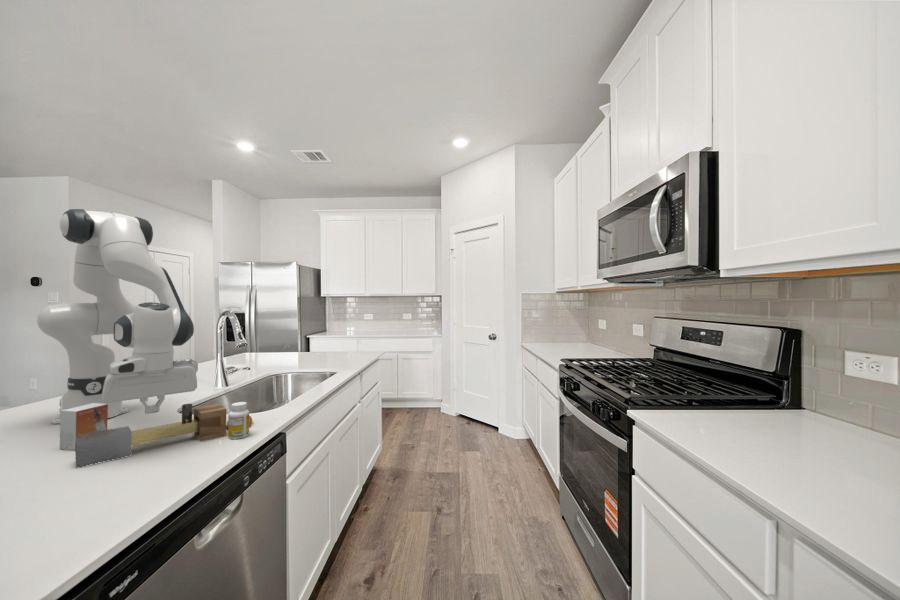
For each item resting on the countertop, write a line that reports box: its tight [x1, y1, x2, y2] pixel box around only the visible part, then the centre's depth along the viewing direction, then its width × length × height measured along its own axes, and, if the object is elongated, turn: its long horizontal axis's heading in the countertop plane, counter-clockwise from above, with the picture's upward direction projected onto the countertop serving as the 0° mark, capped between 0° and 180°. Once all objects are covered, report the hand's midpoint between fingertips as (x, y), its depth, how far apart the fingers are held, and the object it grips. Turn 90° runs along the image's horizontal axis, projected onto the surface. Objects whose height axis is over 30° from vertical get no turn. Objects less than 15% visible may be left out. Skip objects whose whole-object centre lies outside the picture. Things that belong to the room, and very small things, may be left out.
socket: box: [193, 403, 227, 442], centre depth 111 cm, size 8×6×8 cm
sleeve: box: [74, 425, 133, 469], centre depth 94 cm, size 6×10×6 cm, turn 137°
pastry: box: [226, 415, 253, 431], centre depth 120 cm, size 9×7×4 cm
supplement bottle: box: [227, 401, 250, 440], centre depth 110 cm, size 5×5×10 cm
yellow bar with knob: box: [131, 403, 199, 447], centre depth 105 cm, size 3×20×8 cm, turn 136°
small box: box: [58, 403, 109, 451], centre depth 103 cm, size 8×6×10 cm
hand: (152, 412), depth 102 cm, fingers closed
